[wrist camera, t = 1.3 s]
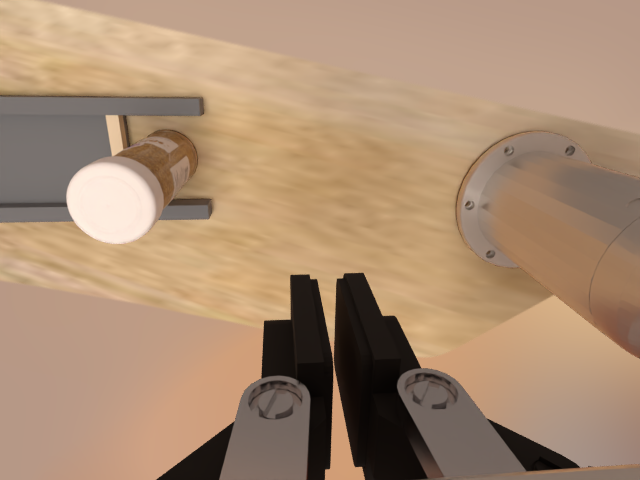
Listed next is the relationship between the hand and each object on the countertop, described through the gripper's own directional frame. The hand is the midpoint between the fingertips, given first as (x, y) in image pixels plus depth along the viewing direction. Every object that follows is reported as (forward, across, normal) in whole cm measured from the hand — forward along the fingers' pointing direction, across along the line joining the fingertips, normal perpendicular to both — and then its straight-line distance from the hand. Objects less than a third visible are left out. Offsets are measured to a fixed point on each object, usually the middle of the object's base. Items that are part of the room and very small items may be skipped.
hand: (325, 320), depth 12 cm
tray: (+25, +18, 0) cm, 31 cm away
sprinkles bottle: (+25, +10, 0) cm, 27 cm away
